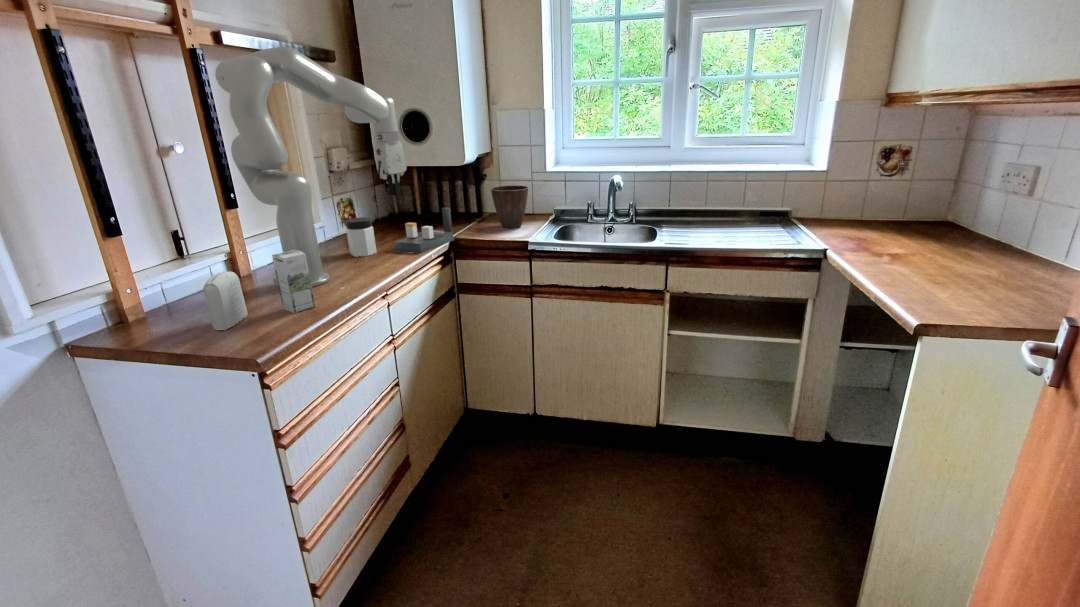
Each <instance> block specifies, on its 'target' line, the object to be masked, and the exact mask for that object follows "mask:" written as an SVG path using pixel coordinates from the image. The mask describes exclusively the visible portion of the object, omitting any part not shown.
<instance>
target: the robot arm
mask: <svg viewBox="0 0 1080 607" xmlns="http://www.w3.org/2000/svg"><path fill="white" fill-rule="evenodd" d="M214 76H215V80H216V82H217V84H218V86H220V88H221V89H222V90H224V91H225V92H226V93H228V94H230V96H229V112H230V116H231V119H232V121H233V123H234V125H235V127H236V129H237V131H238V135H237V136H236V137H235V138H234V139H233V140H232V142H231V147H230V152H231V157H232V160H233V162H234V164H235V166H236V168H237V169H238V172H239V173H240V174H241V177H242V178H243V180H244V182H245V184H246V185H247V187H248V188H249V190H250V193H251V194H252V195H253V197H255V198H256V199H257V201H259V202H260V203H261V204H265V205H269V206H277V207H276V210H277V211H276V227H277V232H278V237H279V241H280V245H281V251H282V253H283V252H287V251H292V250H298V251H301V252H303V253H305V254H306V260H307V265H308V270H309V276H310V281H311V286H312V288H313V287H316V286H320V285H323V284H325V283H327V282H329V281H330V279H331V275H330V273H327V272H324V269H323V263H322V258H321V253H320V248H319V242H318V238H317V237H318V236H317V231H316V227H315V222H314V217H313V204H312V200H313V197H312V196H313V193H312V188H311V187H312V186H311V185H310V182H309V181H308V180H307V179H306V177H304V176H303V175H301V174H300V173H298V172H294V171H287V170H286V171H285V170H280V169H282V168H283V167H285V166H286V165H287V163H288V161H289V153H288V150H287V147H286V146H285V144H284V141H283V140H282V138H281V136H280V134H279V131H278V129H277V128H276V126H275V124H274V122H273V119H272V117H271V115H270V113H269V110H268V109H269V108H268V96H269V93H270V90H271V89H272V86H273V84H276V83H277V84H278V83H287V84H290V85H291V86H293V87H295V88H297V89H299V90H300V91H302V92H304V93H306V94H307V95H309V96H311V97H312V98H314V99H316V100H318V101H320V102H324V103H328V104H333V105H340V106H344V114H345V115H346V117H347V118H348V119H349V120H350V121H351V122H352V123H357V124H370V123H371V124H372V129H373V134H374V137H373V138H374V141H375V144H374V156H375V157H374V158H375V166H376V170H377V173H378V174H379V179H382V180H384V181H385V182H386V184H387V185H388V192H389V195H390V196H398V195H399V196H400V195H401V190H400V181H401V177H402V176H403V175H404V174H405V172H406V171H407V168H408V166H407V161H406V156H405V150H404V148H403V145H402V144H403V143H402V141H400V138H399V129H398V124H397V123H398V122H397V112H396V107H395V102H394V99H393V98H392V97H391V96H390V97H389V96H388V97H387V96H381V95H380V94H378V93H377V92H376V91H374V90H372V89H371V88H369V87H368V86H366V85H364V84H362V83H360V82H357V81H354V80H351V79H350V78H347V77H344V76H341V75H338V74H336V73H333V72H331V71H330V70H328V69H326V68H325V67H323V66H322V65H320V64H319V63H317V62H315V61H314V60H312V59H311V58H309V57H308V56H306V55H305V54H303V53H301V52H300V51H298V50H296V49H295V48H293V47H290V46H283V45H282V46H276V47H269V48H263V49H261V50H258V51H255V52H252V53H248V54H243V55H239V56H236V57H232V58H228V59H225V60H222V61H220V62H219V63H218V64H217V65H216V67H215V73H214ZM278 169H279V170H278ZM272 282H273V284H274V285H276V286H278V281H277V277H275V278H273V281H272Z"/></svg>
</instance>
